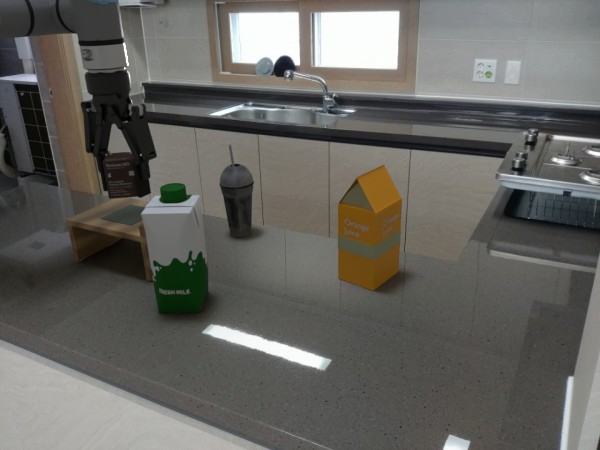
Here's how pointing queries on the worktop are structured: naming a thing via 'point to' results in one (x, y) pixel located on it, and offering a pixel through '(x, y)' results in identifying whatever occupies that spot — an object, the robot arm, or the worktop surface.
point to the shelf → (109, 228)
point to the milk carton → (176, 249)
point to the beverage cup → (237, 197)
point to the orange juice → (369, 230)
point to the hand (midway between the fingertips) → (127, 191)
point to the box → (120, 175)
